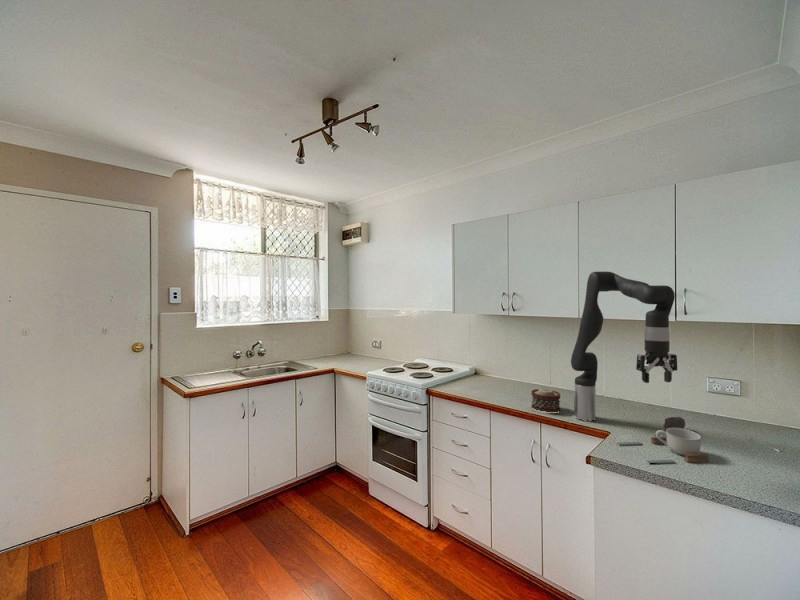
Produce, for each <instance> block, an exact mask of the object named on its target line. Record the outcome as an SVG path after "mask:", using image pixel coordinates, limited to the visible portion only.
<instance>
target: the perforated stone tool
mask: <svg viewBox="0 0 800 600" xmlns="http://www.w3.org/2000/svg"><path fill="white" fill-rule="evenodd" d="M685 427H686V421H685V419H684V418H683V417H681V416H670V417H667V418H665V419H664V423H663V429H664V431H665V432H666V430H667V429H668V428H681V429H685Z"/></svg>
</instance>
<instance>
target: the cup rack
mask: <svg viewBox="0 0 800 600" xmlns="http://www.w3.org/2000/svg"><path fill="white" fill-rule="evenodd" d="M659 437H660V438H661V439H663V440H664V441H666V437H665V436H659ZM650 440H651V441H650V443H651V444H652V445H665V444H664V443H663V442H661V441H660V440H659V439H658V438H657V437H656V436H651V438H650ZM684 462H685V463H689V464H690V463H708V462H709V454H707V453H698V454H685V456H684Z"/></svg>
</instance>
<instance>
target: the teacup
mask: <svg viewBox="0 0 800 600" xmlns="http://www.w3.org/2000/svg"><path fill="white" fill-rule="evenodd" d="M660 434H663V435H664V437H666V441H664V440H663V439H661V438H660V437H661V436H660ZM655 437H657V438H658V439H659V440H660V441H661V442H663V443H664V444H663V445H665V446H666V447H668V449H670V450H671V452H673V453H675V454H676V455H678V456H682V457H685V454H700V451H701V443H702V442H701V440H702V436H701V435H700V434H699V433H697V432H694V431H692V430H689V429H685V428H684V429H681V428H668V429H667V430H666V432H665V430H663V429H657V430H656V432H655Z"/></svg>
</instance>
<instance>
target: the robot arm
mask: <svg viewBox="0 0 800 600" xmlns="http://www.w3.org/2000/svg"><path fill="white" fill-rule="evenodd" d="M600 292H601V293H602V292H605V293H606V292H620V293H621V294H622V295H624V296H625V297H628V298H631V299H635V300H637V301H639V302H641V303H642V304H646V305H656V306H655V308H654V309H652V310H649V311H647V312H646V313H645V324H644V325H645V329H644V351H645V354H637V355H636V368H635V369H636V371H639V372H641V380H642V381H641V382H643V383H645V384H649V383H650V372H651V369H654V367H656V368H657V367H661V368H662V369H663V370H664V374H663V375H664V376H663V378H664V379H663V381H664V382H665V383H672V380H673V374H672V373H673V372H675V371H678V356H677V354H674V353H669V352H670V349H671V347H670V344H671V343H670V320H669V319H670V318H669V316H670V313H671V311H672V308H673V305H674V302H675V298H676V297H675V295H676V294H675V291H674V289H673V288H672V287H671V286H669V285H652V284H651V285H650V284H649V283H646V282H645V281H640V280H635V279H629V278H626V277H624V276H621V275H619V274H617V273H614V272H612V271H592V272H591V273H590V274H589V275H588V278H587V282H586V290H585V300H584V306H583V311H582V315H581V319H580V324H579V327H578V328H579V330H578V334H577V338H576V342H575V344H574V348H573V351H572V354H571V358H570V365H571V368H572V370H574V371H576V372H583V373H582V374H580V375H578V376H576V377H574V397H573V398H574V399H573V403H574V404H573V405H574V406H573V407H574V408H573V410H574V411H573V413H574V414H575V416H576V417H577V418H579V419H584V420H594V419H596V418H597V416H596V415H597V414H596V413H597V412H596V411H597V408H596V407H597V406H596V405H597V404H596V403H597V401H596V397H597V395H596V392H597V391H596V387H597V386H596V382H597V379H598V359H597V358H598V357H597V355H596V354H595V353H594V352H592V351H591V352H590V351H589V352H588V351H587V350H588V347H589V346H591V344H592V342H593V341H595V340H596V339H597V338H598V336H599V335H600V333H601V331H602V329H603V324H604V315H603V312H602V310H601V309H600V307H599V304H598V303H599V302H598V299H599V293H600ZM586 351H587V352H586ZM575 416H574V417H575ZM579 419H578V420H579Z"/></svg>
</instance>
